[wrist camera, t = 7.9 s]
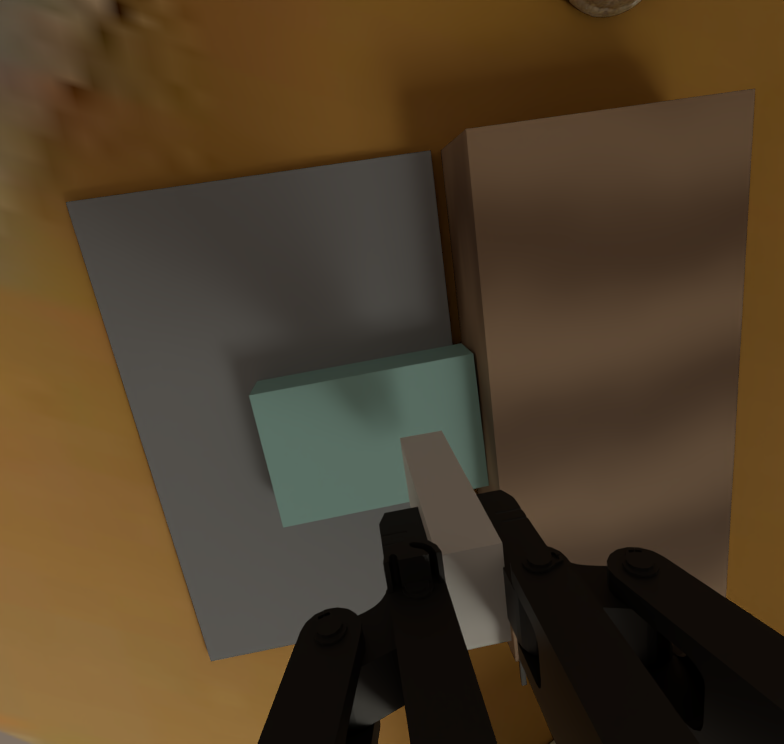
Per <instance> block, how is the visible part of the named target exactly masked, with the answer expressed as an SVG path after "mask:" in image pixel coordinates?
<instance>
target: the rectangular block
mask: <svg viewBox="0 0 784 744" xmlns="http://www.w3.org/2000/svg"><path fill="white" fill-rule="evenodd" d="M249 398H250V402H251V405H252V409H253V413H254V417H255V421H256V425H257V429H258V432H259V436H260V440H261V444H262V448H263V452H264V455H265V459H266V463H267V467H268V471H269V475H270V479H271V482H272V486H273V490H274V494H275V498H276V502H277V505H278V509H279V513H280V517H281V521H282V525H283V528H284V527H289V526H294V525H298V524H303V523H308V522H313V521H318V520H323V519H328V518H333V517H338V516H343V515H347V514H352V513H357V512H362V511H367V510H372V509H377V508H382V507H387V506H392V505H397V504H401V503H406V502H410V501H409V495H408V488H407V482H406V475H405V469H404V462H403V456H402V449H401V443H400V438H403V437H409V436H414V435H420V434H425V433H431V432H436V431H442V432H443V434H444V436H445V438H446V440H447V441H448V443H449V445H450V447H451V449H452V451H453V453H454V454H455V456H456V458H457V460H458V462H459V464H460V466H461V467H462V469H463V471H464V473H465V475H466V477H467V478H468V480H469V482H470V484H471V486H472V488H473V489H475V488H480V487H485V486H489V482H488V473H487V465H486V457H485V448H484V440H483V431H482V423H481V414H480V406H479V397H478V389H477V380H476V372H475V364H474V355H473V353H472V352H471V351H470V350H468V349H467V348H466V347H465V346H464V345H463V344H461V343H460V344H455V345H449V346H444V347H438V348H433V349H428V350H422V351H417V352H411V353H406V354H401V355H395V356H390V357H384V358H379V359H374V360H368V361H363V362H357V363H352V364H347V365H341V366H336V367H330V368H325V369H320V370H314V371H309V372H303V373H298V374H293V375H287V376H282V377H276V378H271V379H266V380H260V381H257V382H256V384H255V386H254V387H253V389H252V391H251V393H250V395H249Z"/></svg>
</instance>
